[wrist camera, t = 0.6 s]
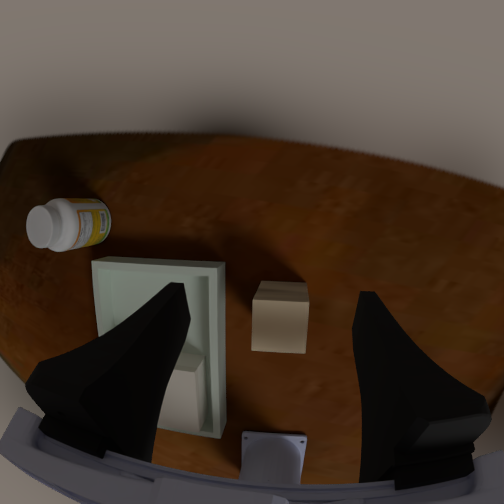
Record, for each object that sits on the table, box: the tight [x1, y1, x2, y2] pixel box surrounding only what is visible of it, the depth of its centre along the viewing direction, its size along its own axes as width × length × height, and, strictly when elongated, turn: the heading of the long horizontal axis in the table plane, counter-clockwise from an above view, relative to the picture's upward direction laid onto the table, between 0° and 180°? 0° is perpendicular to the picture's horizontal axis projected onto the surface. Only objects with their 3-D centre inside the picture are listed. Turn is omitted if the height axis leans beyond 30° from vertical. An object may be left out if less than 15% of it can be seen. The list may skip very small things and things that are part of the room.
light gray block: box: [158, 353, 208, 433], centre depth 32 cm, size 8×10×4 cm
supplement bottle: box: [26, 198, 111, 252], centre depth 29 cm, size 5×5×10 cm
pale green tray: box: [91, 256, 227, 439], centre depth 33 cm, size 20×14×4 cm
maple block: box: [252, 281, 309, 353], centre depth 29 cm, size 4×4×7 cm
